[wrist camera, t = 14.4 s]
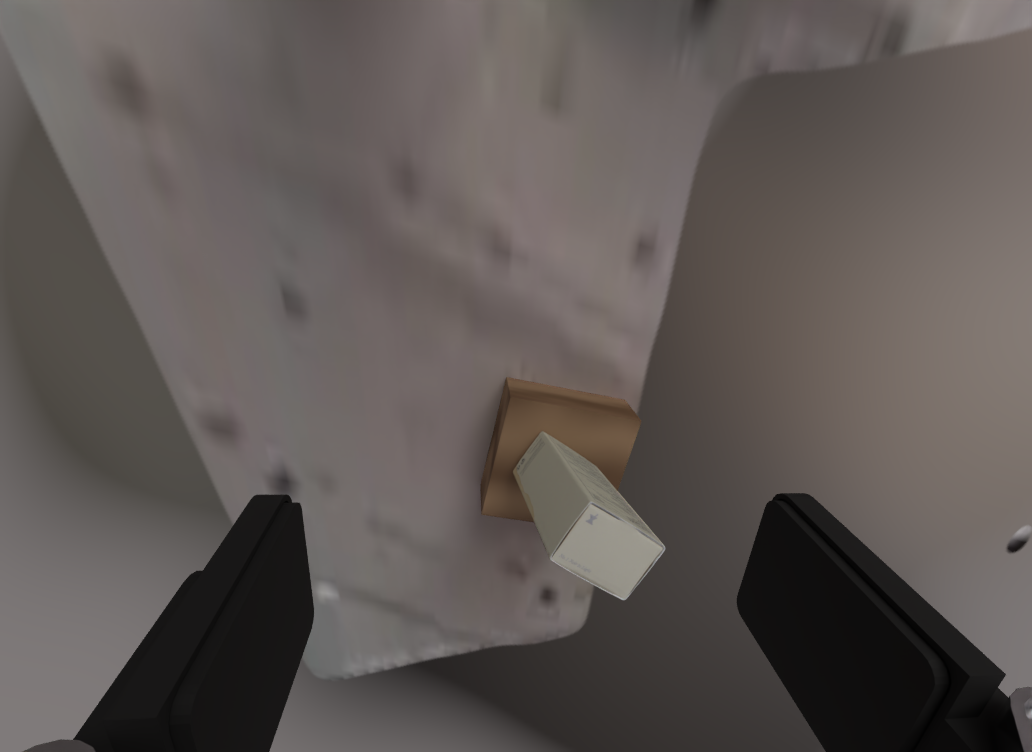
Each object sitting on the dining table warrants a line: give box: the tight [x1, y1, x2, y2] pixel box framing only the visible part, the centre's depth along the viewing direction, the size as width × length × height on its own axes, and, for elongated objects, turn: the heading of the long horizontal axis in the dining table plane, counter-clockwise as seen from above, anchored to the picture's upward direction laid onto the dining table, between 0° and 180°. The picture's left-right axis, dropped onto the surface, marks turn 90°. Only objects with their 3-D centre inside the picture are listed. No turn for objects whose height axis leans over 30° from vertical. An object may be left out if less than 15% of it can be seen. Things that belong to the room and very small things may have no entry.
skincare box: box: [513, 431, 665, 600], centre depth 34 cm, size 6×4×12 cm
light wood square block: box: [481, 377, 641, 522], centre depth 42 cm, size 11×11×5 cm
